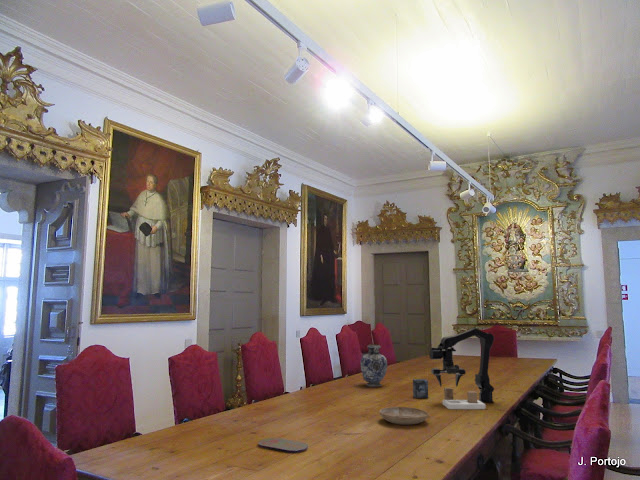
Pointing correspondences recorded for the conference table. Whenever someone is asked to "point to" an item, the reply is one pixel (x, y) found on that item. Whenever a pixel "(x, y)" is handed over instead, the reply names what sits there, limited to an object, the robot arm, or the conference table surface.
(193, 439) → the conference table surface
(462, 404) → the white block with holes
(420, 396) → the box
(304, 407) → the conference table surface
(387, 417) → the ceramic bowl
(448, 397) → the beige rectangular block
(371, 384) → the decorative vase
